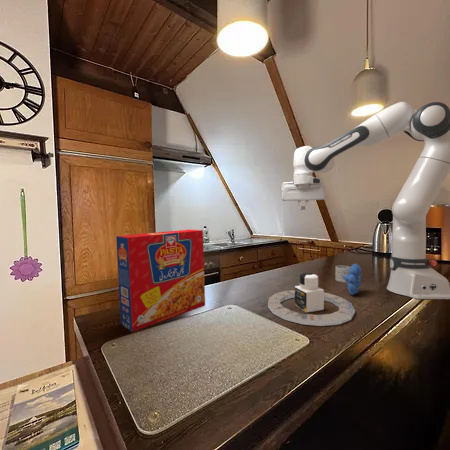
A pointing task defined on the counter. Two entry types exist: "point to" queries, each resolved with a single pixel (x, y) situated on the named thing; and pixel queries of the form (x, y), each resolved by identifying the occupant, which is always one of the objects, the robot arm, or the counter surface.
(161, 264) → the pasta box
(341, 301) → the turntable ring
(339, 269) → the mug
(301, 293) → the medicine bottle
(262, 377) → the counter surface
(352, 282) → the grapes
